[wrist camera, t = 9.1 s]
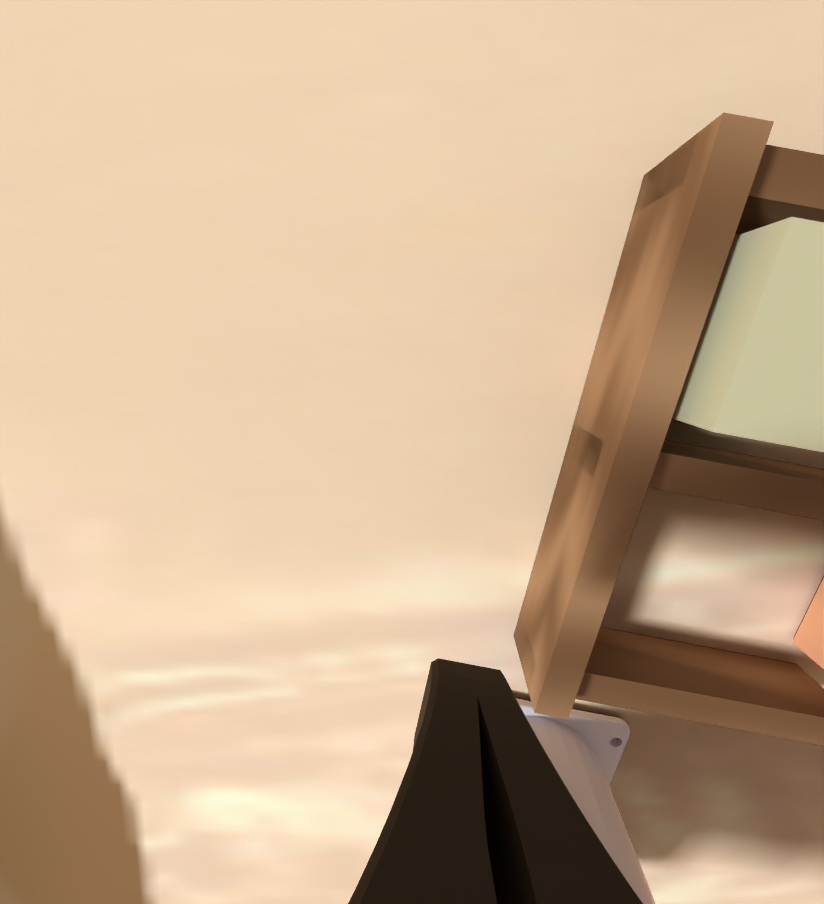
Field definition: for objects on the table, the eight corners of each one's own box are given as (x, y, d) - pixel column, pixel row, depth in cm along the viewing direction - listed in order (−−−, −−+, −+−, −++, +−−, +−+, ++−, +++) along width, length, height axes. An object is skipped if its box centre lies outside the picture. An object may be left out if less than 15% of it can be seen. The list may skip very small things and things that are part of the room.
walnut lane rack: (784, 686, 19) (876, 777, 15) (513, 635, 19) (534, 713, 15) (1007, 241, 14) (1226, 203, 10) (644, 175, 14) (723, 112, 10)
